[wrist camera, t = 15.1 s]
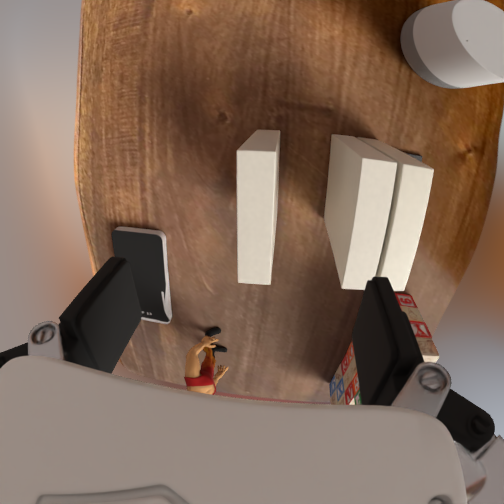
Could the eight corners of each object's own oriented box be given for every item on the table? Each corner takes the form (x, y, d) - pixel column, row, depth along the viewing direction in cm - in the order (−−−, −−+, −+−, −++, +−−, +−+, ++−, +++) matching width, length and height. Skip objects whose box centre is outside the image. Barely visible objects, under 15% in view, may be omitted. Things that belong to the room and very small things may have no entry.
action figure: (233, 359, 48) (216, 437, 35) (212, 359, 48) (192, 434, 35) (220, 316, 43) (195, 400, 30) (197, 317, 44) (167, 398, 31)
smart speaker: (442, 10, 20) (510, -17, 8) (473, 79, 23) (551, 85, 11) (378, 22, 23) (432, -16, 10) (413, 96, 26) (484, 102, 14)
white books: (331, 133, 30) (362, 157, 17) (422, 147, 29) (491, 181, 17) (323, 219, 35) (341, 288, 22) (408, 226, 34) (457, 292, 21)
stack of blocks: (360, 386, 48) (368, 443, 38) (328, 383, 49) (332, 443, 38) (412, 294, 38) (441, 357, 27) (374, 288, 38) (396, 355, 27)
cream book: (257, 129, 30) (236, 149, 18) (280, 130, 30) (276, 151, 18) (255, 215, 35) (237, 283, 23) (277, 216, 35) (270, 285, 23)
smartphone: (162, 235, 36) (170, 325, 44) (165, 230, 38) (173, 319, 45) (110, 229, 37) (126, 316, 44) (115, 225, 38) (129, 310, 45)
